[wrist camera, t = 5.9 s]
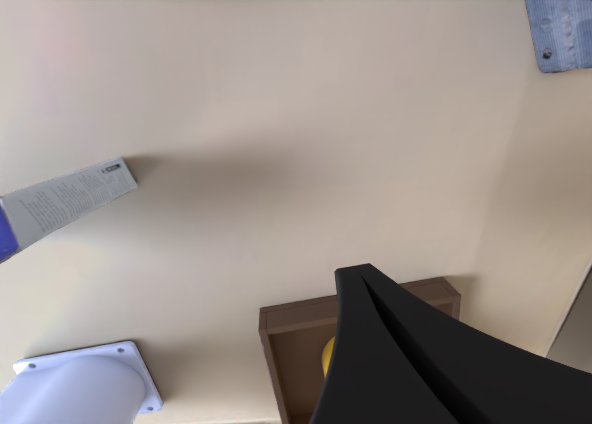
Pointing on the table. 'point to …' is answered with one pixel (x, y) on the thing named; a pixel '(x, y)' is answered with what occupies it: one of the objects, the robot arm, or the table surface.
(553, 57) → the vhs cassette tape
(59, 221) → the ink box
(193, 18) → the table surface
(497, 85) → the table surface
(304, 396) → the tray
